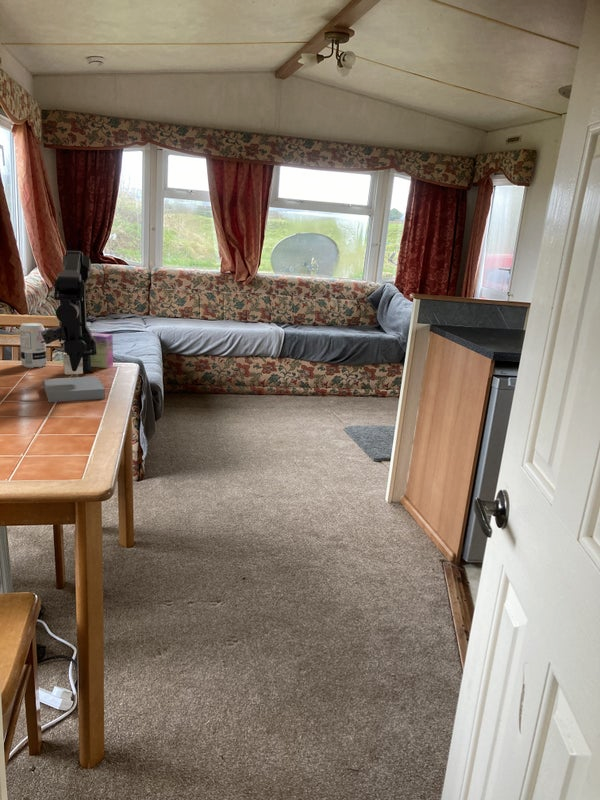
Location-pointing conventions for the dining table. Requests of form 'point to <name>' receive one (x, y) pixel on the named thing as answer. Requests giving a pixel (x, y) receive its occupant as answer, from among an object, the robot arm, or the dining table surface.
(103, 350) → the box
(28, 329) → the supplement can
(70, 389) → the base board
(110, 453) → the dining table surface
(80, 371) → the cube
